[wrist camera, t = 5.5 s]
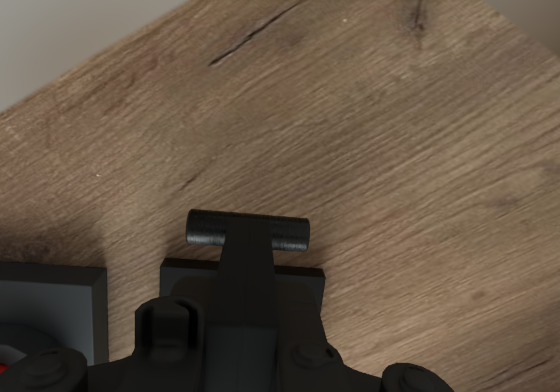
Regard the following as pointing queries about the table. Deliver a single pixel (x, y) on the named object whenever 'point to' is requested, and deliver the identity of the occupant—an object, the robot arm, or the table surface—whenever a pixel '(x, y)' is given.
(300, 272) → the bracket
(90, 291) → the button block
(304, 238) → the lever
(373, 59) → the table surface
